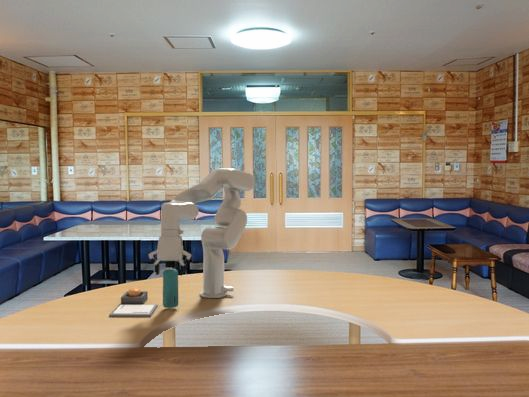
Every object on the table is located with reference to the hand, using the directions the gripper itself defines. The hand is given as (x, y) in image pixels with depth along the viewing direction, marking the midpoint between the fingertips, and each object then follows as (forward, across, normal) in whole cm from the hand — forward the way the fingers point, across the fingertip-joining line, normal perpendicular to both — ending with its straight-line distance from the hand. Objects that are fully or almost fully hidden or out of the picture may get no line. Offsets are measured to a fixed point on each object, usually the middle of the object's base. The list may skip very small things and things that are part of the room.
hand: (169, 274), depth 177 cm
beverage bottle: (+15, 0, -1) cm, 15 cm away
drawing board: (+15, +14, +2) cm, 20 cm away
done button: (+12, +17, -10) cm, 22 cm away
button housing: (+15, +16, -10) cm, 24 cm away
